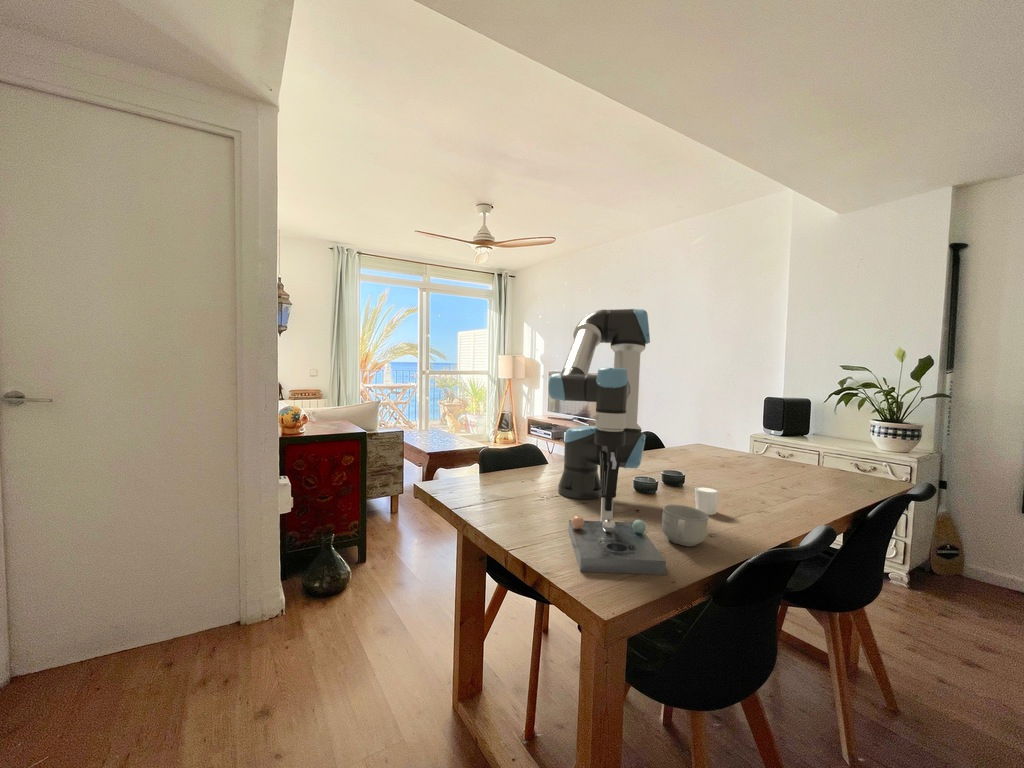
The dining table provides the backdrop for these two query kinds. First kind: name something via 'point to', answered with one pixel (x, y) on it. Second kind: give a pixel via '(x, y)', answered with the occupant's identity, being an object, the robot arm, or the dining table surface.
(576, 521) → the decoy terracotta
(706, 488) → the shot glass
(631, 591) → the dining table surface
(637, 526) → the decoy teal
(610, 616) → the dining table surface
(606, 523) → the steel ball
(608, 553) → the plate
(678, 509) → the teacup
